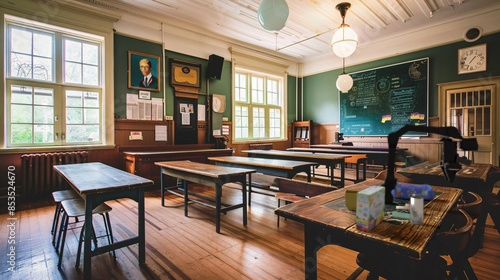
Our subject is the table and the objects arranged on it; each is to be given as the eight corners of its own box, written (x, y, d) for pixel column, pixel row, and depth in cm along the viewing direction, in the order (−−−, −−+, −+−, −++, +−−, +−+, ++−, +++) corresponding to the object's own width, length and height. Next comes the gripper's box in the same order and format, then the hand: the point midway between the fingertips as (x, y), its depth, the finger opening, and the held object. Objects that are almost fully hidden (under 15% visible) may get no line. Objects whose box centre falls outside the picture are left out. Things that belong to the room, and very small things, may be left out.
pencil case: (393, 199, 147) (393, 183, 147) (389, 195, 155) (389, 180, 155) (436, 202, 141) (436, 185, 140) (429, 198, 149) (429, 182, 149)
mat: (392, 217, 113) (392, 216, 113) (392, 212, 120) (392, 211, 120) (412, 220, 109) (412, 219, 109) (411, 215, 116) (411, 214, 116)
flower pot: (363, 208, 128) (363, 191, 128) (363, 212, 120) (363, 194, 120) (345, 206, 131) (345, 189, 131) (344, 210, 123) (344, 192, 123)
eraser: (407, 208, 128) (407, 204, 128) (405, 207, 130) (405, 203, 130) (417, 209, 127) (417, 205, 126) (415, 208, 129) (415, 204, 129)
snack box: (370, 233, 95) (370, 194, 95) (355, 229, 99) (355, 192, 99) (385, 219, 110) (385, 186, 110) (371, 216, 114) (372, 184, 114)
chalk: (397, 209, 126) (397, 206, 126) (396, 208, 127) (396, 205, 127) (411, 210, 125) (411, 207, 125) (410, 209, 126) (410, 206, 126)
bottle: (410, 223, 105) (410, 194, 105) (409, 220, 109) (410, 192, 109) (423, 225, 103) (424, 196, 102) (422, 222, 107) (422, 194, 106)
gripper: (476, 152, 112) (476, 186, 112) (465, 150, 128) (465, 180, 129) (446, 151, 118) (445, 183, 118) (439, 149, 134) (438, 178, 134)
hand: (449, 181), depth 124 cm, fingers open, 9 cm apart
